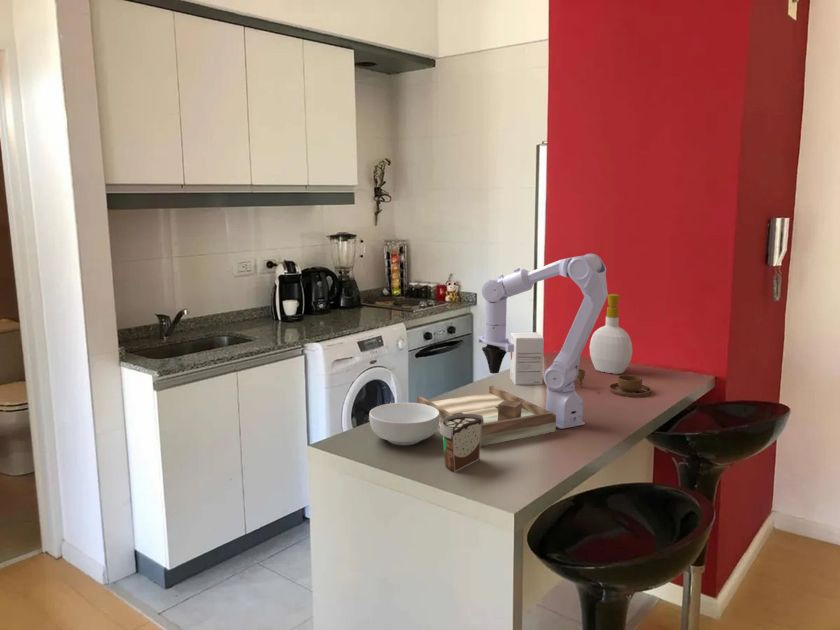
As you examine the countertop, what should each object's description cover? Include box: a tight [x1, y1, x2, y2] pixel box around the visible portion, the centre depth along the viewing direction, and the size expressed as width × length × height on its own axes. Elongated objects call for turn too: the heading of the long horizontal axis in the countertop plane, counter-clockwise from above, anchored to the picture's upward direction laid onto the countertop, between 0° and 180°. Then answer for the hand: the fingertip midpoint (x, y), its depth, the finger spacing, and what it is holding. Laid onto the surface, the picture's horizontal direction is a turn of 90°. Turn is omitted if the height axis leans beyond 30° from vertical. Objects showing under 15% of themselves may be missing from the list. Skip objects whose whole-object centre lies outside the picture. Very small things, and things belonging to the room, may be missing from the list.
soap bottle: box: [589, 293, 633, 375], centre depth 228 cm, size 14×9×26 cm, turn 52°
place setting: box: [576, 368, 652, 398], centre depth 210 cm, size 18×20×6 cm
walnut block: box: [498, 400, 521, 421], centre depth 173 cm, size 4×4×4 cm
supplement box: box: [509, 331, 545, 386], centre depth 217 cm, size 9×9×15 cm
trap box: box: [416, 385, 556, 447], centre depth 179 cm, size 29×24×5 cm
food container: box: [439, 414, 484, 473], centre depth 152 cm, size 12×6×10 cm, turn 141°
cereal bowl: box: [368, 402, 440, 446], centre depth 166 cm, size 17×17×7 cm
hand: (494, 372), depth 188 cm, fingers closed
